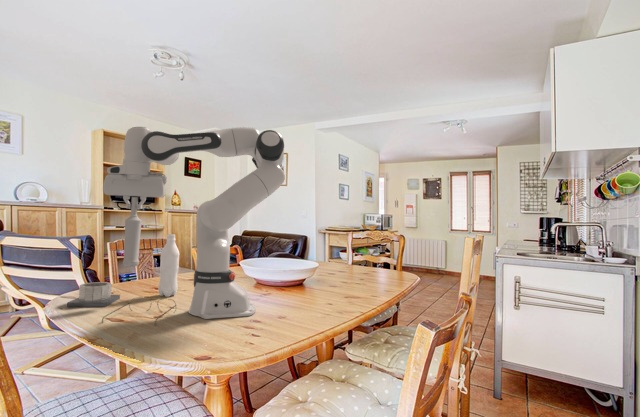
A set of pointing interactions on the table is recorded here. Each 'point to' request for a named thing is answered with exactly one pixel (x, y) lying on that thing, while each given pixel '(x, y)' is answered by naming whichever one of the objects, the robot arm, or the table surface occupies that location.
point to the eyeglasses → (147, 310)
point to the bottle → (132, 237)
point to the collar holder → (94, 295)
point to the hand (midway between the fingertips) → (134, 208)
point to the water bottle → (169, 268)
